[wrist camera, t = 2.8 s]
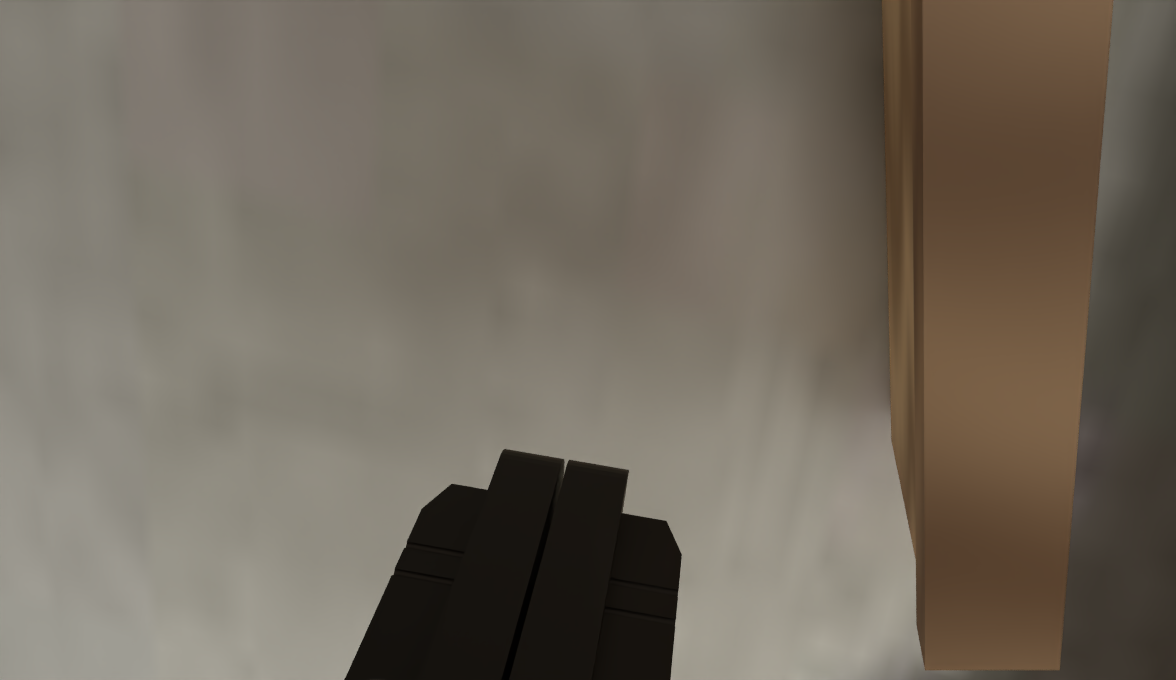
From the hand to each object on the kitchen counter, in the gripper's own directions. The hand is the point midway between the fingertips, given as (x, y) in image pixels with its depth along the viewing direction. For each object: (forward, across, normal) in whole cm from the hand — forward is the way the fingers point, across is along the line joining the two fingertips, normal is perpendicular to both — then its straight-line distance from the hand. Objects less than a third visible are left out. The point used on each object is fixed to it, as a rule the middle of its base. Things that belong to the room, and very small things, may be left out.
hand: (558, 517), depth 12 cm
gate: (+9, -5, -4) cm, 11 cm away
